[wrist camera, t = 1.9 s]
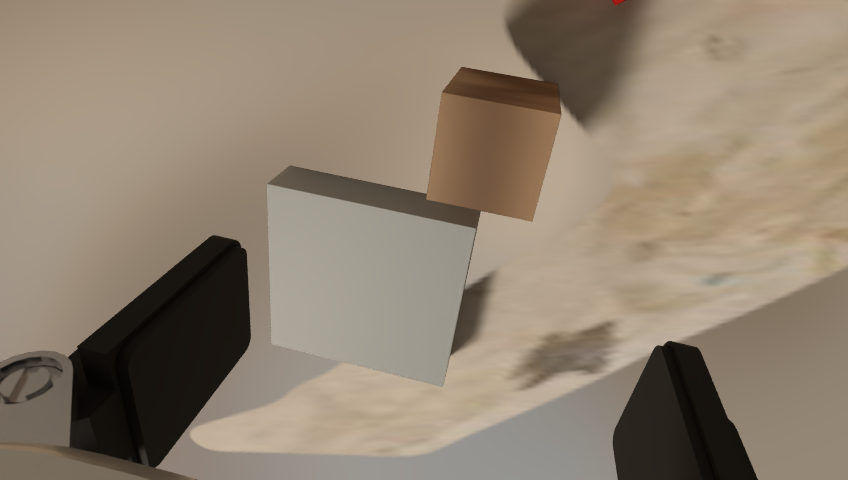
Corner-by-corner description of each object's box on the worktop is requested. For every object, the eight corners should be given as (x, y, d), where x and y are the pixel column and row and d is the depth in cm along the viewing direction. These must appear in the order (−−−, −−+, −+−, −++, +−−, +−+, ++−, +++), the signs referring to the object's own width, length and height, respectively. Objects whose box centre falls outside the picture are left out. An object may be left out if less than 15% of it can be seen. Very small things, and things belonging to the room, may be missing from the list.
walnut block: (557, 83, 26) (561, 114, 21) (534, 174, 28) (532, 221, 23) (461, 66, 26) (441, 92, 21) (447, 156, 29) (426, 199, 24)
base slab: (481, 205, 30) (476, 228, 27) (450, 356, 36) (442, 386, 33) (289, 165, 31) (267, 184, 28) (290, 317, 37) (271, 344, 34)
